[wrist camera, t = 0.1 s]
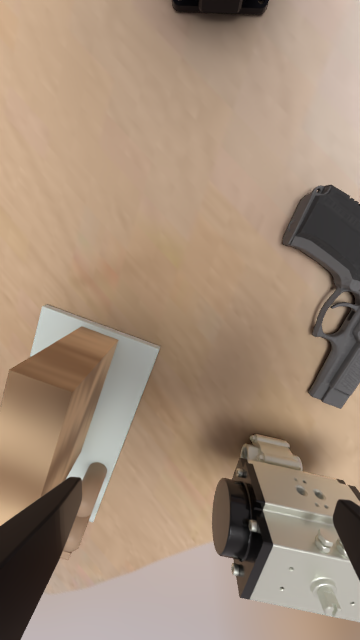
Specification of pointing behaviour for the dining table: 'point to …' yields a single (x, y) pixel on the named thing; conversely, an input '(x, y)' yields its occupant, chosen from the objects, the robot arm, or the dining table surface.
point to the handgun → (349, 275)
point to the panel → (100, 408)
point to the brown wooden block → (49, 415)
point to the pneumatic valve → (285, 532)
